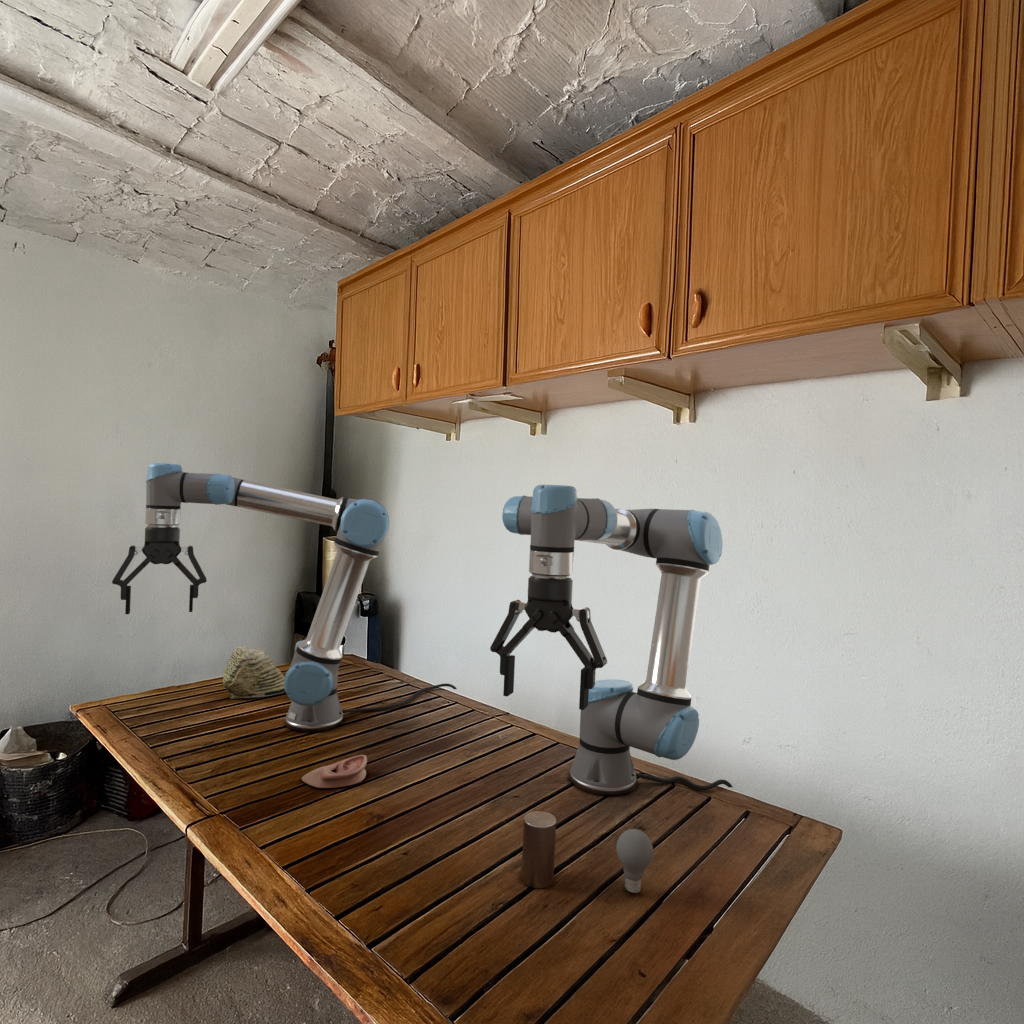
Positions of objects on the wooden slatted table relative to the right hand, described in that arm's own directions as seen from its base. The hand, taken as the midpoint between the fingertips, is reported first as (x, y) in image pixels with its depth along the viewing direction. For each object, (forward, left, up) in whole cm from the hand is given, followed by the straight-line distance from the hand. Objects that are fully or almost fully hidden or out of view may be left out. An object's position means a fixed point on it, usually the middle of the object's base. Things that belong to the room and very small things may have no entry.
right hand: (545, 700), depth 108 cm
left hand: (+64, -83, +2) cm, 105 cm away
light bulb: (-13, +9, -31) cm, 35 cm away
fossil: (+40, -117, -31) cm, 128 cm away
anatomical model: (+26, -50, -31) cm, 64 cm away
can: (0, 0, -31) cm, 31 cm away
